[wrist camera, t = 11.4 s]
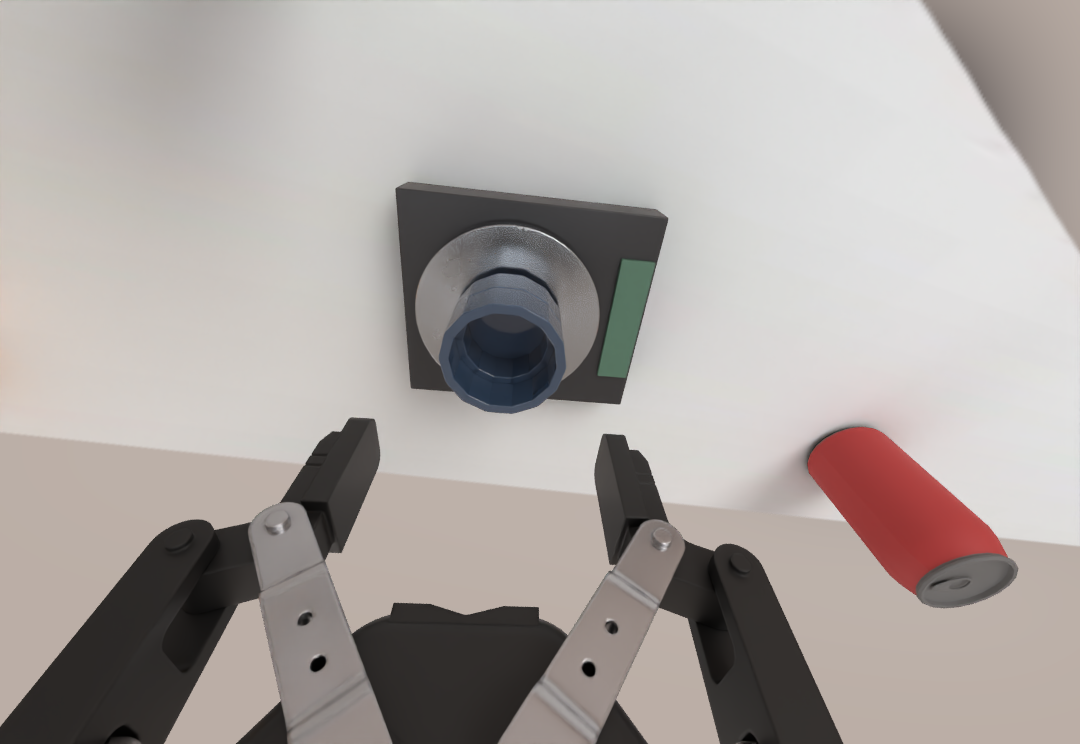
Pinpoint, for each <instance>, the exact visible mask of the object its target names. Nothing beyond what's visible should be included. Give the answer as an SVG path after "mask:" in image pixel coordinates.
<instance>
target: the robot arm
mask: <svg viewBox="0 0 1080 744" xmlns="http://www.w3.org/2000/svg"><path fill="white" fill-rule="evenodd" d="M379 461H380V447H379V441H378V434H377V428H376V422H375V420H374V419H368V418H350V419H349V420H348V421H347V423H346V425H345V426H344V428H343V430H342V431H341V432H334V431H333V432H331V433H330V434H329V435H327V436H326V437H325V438H323V439H322V440H321V441H320V442H319V443H318V445H317V446H316V448H315V449H314V451H313V452H312V456H310V457H309V459H308V460H307V462H306V465H305V466H303V468H302V469H301V471H300V473H299V474H298V476H297V477H296V479H295V480H294V482H293V483H292V485H291V486H290V488H289V490H288V491H287V493H286V494H285V496H284V497H283V499H282V500H281V502H280V503H278V504H276V505H272V506H270V507H268V508H266V509H265V510H263V511H262V512H260V513H259V514H258V515H257V516H256V517H255V518H254V519H253V520H252V522H250V523H246V524H242V525H237V526H232V527H228V528H223V529H219V530H214V528H213V527H212V525H211V524H210V523H209V522H207V521H204V520H188V521H184V522H181V523H178V524H176V525H173V526H171V527H169V528H168V529H166V530H164V531H163V532H161V533H160V534H159V535H158V536H156V537H155V538H154V539H153V540H152V541H151V542H150V544H149V545H148V546H147V547H146V548H145V550H144V551H143V552H142V553H141V555H140V556H139V557H138V558H137V559H136V561H135V562H134V563H133V564H132V566H131V567H130V568H129V569H128V571H127V572H126V573H125V574H124V575H123V577H122V578H121V579H120V580H119V582H118V583H117V584H116V585H115V587H114V588H113V589H112V590H111V591H110V593H109V594H108V595H107V596H106V598H105V599H104V600H103V601H102V603H101V604H100V605H99V606H98V607H97V609H96V610H95V611H94V612H93V614H92V615H91V616H90V617H89V619H88V620H87V621H86V622H85V623H84V625H83V626H82V627H81V628H80V629H79V631H78V632H77V633H76V635H75V636H74V637H73V638H72V639H71V641H70V642H69V643H68V644H67V645H66V647H65V648H64V649H63V650H62V652H61V653H60V654H59V655H58V657H57V658H56V659H55V660H54V661H53V663H52V664H51V665H50V666H49V668H48V669H47V670H46V671H45V672H44V674H43V675H42V676H41V677H40V679H39V680H38V681H37V682H36V683H35V685H34V686H33V687H32V688H31V690H30V691H29V692H28V693H27V695H26V696H25V697H24V698H23V699H22V701H21V702H20V703H19V704H18V706H17V707H16V708H15V709H14V711H13V712H12V713H11V714H10V715H9V717H8V718H7V719H6V720H5V722H4V723H3V724H2V725H1V727H0V744H164V742H165V741H166V738H167V737H168V735H169V733H170V731H171V729H172V727H173V726H174V724H175V722H176V720H177V718H178V716H179V714H180V712H181V711H182V709H183V707H184V705H185V703H186V701H187V699H188V697H189V696H190V694H191V692H192V690H193V688H194V686H195V684H196V682H197V681H198V678H199V677H200V675H201V673H202V671H203V669H204V667H205V665H206V664H207V662H208V660H209V658H210V656H211V654H212V652H213V651H214V648H215V647H216V645H217V643H218V641H219V639H220V637H221V636H222V634H223V632H224V630H225V628H226V626H227V624H228V622H229V621H230V619H231V617H232V615H233V613H234V611H235V609H236V607H237V606H238V604H239V603H242V602H246V601H250V600H254V599H257V598H259V602H260V607H261V612H262V616H263V621H264V625H265V630H266V634H267V639H268V644H269V648H270V652H271V658H272V662H273V667H274V671H275V676H276V681H277V685H278V690H279V694H280V699H281V701H280V702H279V703H278V704H277V705H276V706H275V707H274V708H273V709H272V710H271V711H270V712H269V713H268V714H267V715H266V716H265V717H264V718H262V720H261V721H259V722H258V723H257V724H256V725H255V726H254V727H253V728H252V729H251V730H250V731H249V732H248V733H247V734H246V735H245V736H244V737H243V738H241V740H239V742H237V743H236V744H648V743H647V742H646V741H645V739H644V738H643V736H642V735H641V734H640V732H639V731H638V730H637V728H636V727H635V725H634V724H633V723H632V721H631V720H630V718H629V717H628V716H627V714H626V713H625V712H624V710H623V709H622V707H621V706H620V705H619V703H618V702H617V701H616V698H617V696H618V694H619V691H620V689H621V687H622V685H623V683H624V681H625V679H626V676H627V674H628V672H629V670H630V668H631V666H632V663H633V661H634V659H635V657H636V655H637V653H638V651H639V649H640V646H641V644H642V642H643V640H644V638H645V636H646V634H647V631H648V629H649V627H650V625H651V623H652V621H653V618H654V616H655V614H656V612H657V610H658V608H662V609H664V610H667V611H670V612H672V613H675V614H678V615H680V616H683V617H685V618H688V621H689V625H690V629H691V633H692V637H693V640H694V644H695V648H696V652H697V656H698V659H699V664H700V668H701V671H702V675H703V679H704V683H705V687H706V690H707V695H708V699H709V702H710V706H711V710H712V714H713V718H714V722H715V725H716V729H717V733H718V737H719V741H720V744H843V742H842V740H841V738H840V735H839V733H838V731H837V729H836V727H835V724H834V722H833V720H832V718H831V716H830V713H829V711H828V709H827V707H826V705H825V702H824V700H823V698H822V696H821V694H820V692H819V689H818V687H817V685H816V683H815V680H814V678H813V676H812V674H811V672H810V670H809V667H808V665H807V663H806V661H805V659H804V656H803V654H802V652H801V650H800V648H799V645H798V643H797V641H796V639H795V637H794V634H793V633H792V630H791V628H790V626H789V623H788V621H787V619H786V617H785V615H784V613H783V611H782V608H781V606H780V604H779V602H778V599H777V597H776V595H775V593H774V591H773V588H772V586H771V584H770V582H769V580H768V577H767V575H766V573H765V571H764V569H763V567H762V565H761V563H760V562H759V560H758V559H757V558H756V557H755V556H754V555H753V554H752V553H750V552H749V551H748V550H746V549H744V548H742V547H740V546H737V545H734V544H723V545H720V546H719V547H718V548H717V549H716V550H715V551H711V550H709V549H706V548H703V547H700V546H697V545H694V544H692V543H689V542H687V541H686V540H684V539H683V537H682V535H681V534H680V532H679V531H677V529H676V528H675V527H673V526H672V525H670V524H669V522H668V520H667V517H666V514H665V511H664V508H663V505H662V502H661V499H660V496H659V493H658V490H657V487H656V485H655V482H654V479H653V476H652V473H651V470H650V467H649V464H648V461H647V460H646V459H645V458H644V456H643V455H642V454H641V453H640V452H639V451H638V450H629V447H628V444H627V441H626V437H625V436H624V435H614V434H603V436H602V438H601V443H600V447H599V451H598V455H597V459H596V463H595V473H594V476H595V485H596V490H597V496H598V501H599V507H600V513H601V518H602V524H603V529H604V535H605V541H606V547H607V551H608V557H609V563H610V565H616V566H615V567H614V569H613V570H612V571H609V572H608V573H607V574H606V576H605V578H604V579H603V580H602V582H601V584H600V585H599V587H598V588H597V590H596V592H595V594H594V595H593V596H592V598H591V600H590V601H589V603H588V604H587V606H586V608H585V609H584V611H583V612H582V614H581V616H580V617H579V619H578V620H577V622H576V624H575V625H574V627H573V628H572V630H571V631H570V633H569V635H567V634H566V633H564V632H563V631H562V630H561V629H559V628H558V627H556V626H555V625H553V624H551V623H549V622H547V621H544V620H541V619H539V608H538V607H510V606H509V607H508V606H503V607H499V608H495V609H490V610H486V611H482V612H478V613H474V614H470V615H463V614H460V613H456V612H453V611H450V610H447V609H444V608H441V607H438V606H434V605H432V604H413V603H394V604H393V608H392V611H391V615H388V616H384V617H381V618H379V619H376V620H374V621H372V622H370V623H368V624H366V625H364V626H363V627H361V628H360V629H358V630H356V631H355V632H354V633H353V634H351V631H350V628H349V625H348V623H347V620H346V617H345V615H344V612H343V609H342V606H341V604H340V601H339V598H338V595H337V593H336V590H335V587H334V584H333V582H332V579H331V576H330V574H329V571H328V568H327V566H326V563H325V559H326V557H327V555H328V553H330V552H331V553H341V552H342V550H343V548H344V546H345V543H346V541H347V539H348V536H349V534H350V532H351V529H352V527H353V525H354V523H355V520H356V518H357V516H358V513H359V511H360V509H361V506H362V504H363V502H364V499H365V497H366V495H367V492H368V490H369V487H370V485H371V483H372V481H373V478H374V476H375V474H376V471H377V469H378V466H379Z"/></svg>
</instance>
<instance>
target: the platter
mask: <svg viewBox="0 0 1080 744" xmlns="http://www.w3.org/2000/svg"><path fill="white" fill-rule="evenodd" d="M499 273H502V274H512V275H522V276H526V277H527V278H529V279H531V280H532V281H534V282H536V283H537V284H539V285H541V286H542V287H544V288H545V289H546V290H547V291H548V292H549V294H550V295H551V297H552V298H553V300H554V301H555V303H556V304H557V306H558V308H559V311H560V318H561V325H562V332H563V339H564V347H565V357H566V371H565V373H564V375H563V378H562V380H563V379H565V378H566V377H567V376H569V375H570V374H571V373H572V372H573V371H574V370H575V369H576V368H578V367H579V365H580V364H581V363H582V362H583V360H584V359H585V358H586V356H587V355H588V353H589V351H590V350H591V348H592V345H593V343H594V341H595V338H596V335H597V331H598V327H599V319H600V306H599V299H598V294H597V291H596V287H595V284H594V282H593V279H592V277H591V275H590V273H589V271H588V269H587V267H586V266H585V264H584V263H583V261H582V259H581V258H580V257H579V256H578V255H577V254H576V253H575V251H574V250H573V249H572V248H570V247H569V246H568V245H567V244H566V243H565V242H564V241H562V240H561V239H559V238H557V237H556V236H554V235H553V234H551V233H549V232H547V231H544V230H542V229H540V228H537V227H534V226H531V225H527V224H521V223H515V222H497V223H488V224H484V225H480V226H476V227H473V228H471V229H468V230H466V231H463V232H462V233H460V234H458V235H457V236H455V237H453V238H452V239H451V240H449V241H448V242H447V243H446V244H444V245H443V246H442V247H441V248H440V249H439V250H438V251H437V253H436V254H435V255H434V256H433V258H432V259H431V260H430V262H429V263H428V265H427V266H426V268H425V270H424V272H423V274H422V276H421V278H420V281H419V285H418V288H417V293H416V299H415V314H416V321H417V326H418V329H419V333H420V335H421V338H422V340H423V342H424V345H425V346H426V348H427V350H428V351H429V353H430V354H431V356H432V357H433V358H434V360H435V361H436V362H437V363H438V364H439V365H440V362H439V359H438V358H439V357H438V356H439V352H440V348H441V343H442V339H443V335H444V332H445V330H446V327H447V325H448V323H449V320H450V318H451V316H452V313H453V311H454V309H455V306H456V304H457V301H458V300H459V298H460V297H461V296H462V295H463V294H464V293H465V291H466V290H467V289H468V288H469V287H470V286H471V285H472V284H473V283H474V282H475V281H478V280H481V279H483V278H486V277H489V276H492V275H494V274H499ZM562 380H561V381H562Z"/></svg>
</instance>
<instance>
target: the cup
mask: <svg viewBox="0 0 1080 744" xmlns="http://www.w3.org/2000/svg"><path fill="white" fill-rule="evenodd" d="M438 357H439V358H438V359H439V362H440V366H441V369H442V373H443V376H444V380H445V382H446V383H447V384H448V386H449V387H450V388H451V389H452V390H453V391H454V392H455V393H456V394H457V395H458V396H459V398H460V399H461V400H463V401H464V402H466V403H468V404H471V405H473V406H475V407H477V408H479V409H481V410H484V411H487V412H495V413H509V414H512V413H517V412H521V411H524V410H527V409H531V408H534V407H537V406H539V405H540V404H541V403H542V402H544V401H545V400H546V399H547V398H548V397H550V396H551V395H552V394H553V393H554V392H556V390H557V389H558V387H559V384H560V382H561V380H562V378H563V375H564V373H565V371H566V357H565V347H564V339H563V332H562V325H561V318H560V311H559V308H558V306H557V304H556V303H555V301H554V300H553V298H552V297H551V295H550V294H549V292H548V291H547V290H546V289H545V288H544V287H542V286H541V285H539V284H537V283H536V282H534V281H532V280H531V279H529V278H527V277H526V276H522V275H512V274H502V273H499V274H494V275H492V276H489V277H486V278H483V279H481V280H478V281H475V282H474V283H473V284H472V285H471V286H470V287H469V288H468V289H467V290H466V291H465V293H464V294H463V295H462V296H461V297H460V298H459V300H458V301H457V304H456V306H455V309H454V311H453V313H452V316H451V318H450V320H449V323H448V325H447V327H446V330H445V332H444V335H443V339H442V343H441V348H440V352H439V356H438Z"/></svg>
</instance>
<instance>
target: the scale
mask: <svg viewBox="0 0 1080 744" xmlns="http://www.w3.org/2000/svg"><path fill="white" fill-rule="evenodd" d="M396 202H397V215H398V228H399V241H400V253H401V266H402V279H403V292H404V305H405V318H406V331H407V344H408V357H409V369H410V382H411V388H413V389H426V390H439V391H452V392H454V391H453V390H452V389H451V388H450V387H449V386H448V384H447V383H446V382H445V380H444V376H443V373H442V369H441V366H440V365H439V364H438V363H437V362H436V361H435V360H434V358H433V357H432V356H431V354H430V353H429V351H428V350H427V348H426V346H425V345H424V342H423V340H422V338H421V335H420V333H419V329H418V326H417V321H416V314H415V299H416V293H417V288H418V285H419V281H420V278H421V276H422V274H423V272H424V270H425V268H426V266H427V265H428V263H429V262H430V260H431V259H432V258H433V256H434V255H435V254H436V253H437V251H438V250H439V249H440V248H441V247H442V246H443V245H444V244H446V243H447V242H448V241H449V240H451V239H452V238H453V237H455V236H457V235H458V234H460V233H462V232H463V231H466V230H468V229H471V228H473V227H476V226H480V225H484V224H488V223H497V222H515V223H521V224H527V225H531V226H534V227H537V228H540V229H542V230H544V231H547V232H549V233H551V234H553V235H554V236H556V237H557V238H559V239H561V240H562V241H564V242H565V243H566V244H567V245H568V246H569V247H570V248H572V249H573V250H574V251H575V253H576V254H577V255H578V256H579V257H580V258H581V259H582V261H583V263H584V264H585V266H586V267H587V269H588V271H589V273H590V275H591V277H592V279H593V282H594V284H595V287H596V291H597V294H598V299H599V306H600V319H599V327H598V331H597V335H596V338H595V341H594V343H593V345H592V348H591V350H590V351H589V353H588V355H587V356H586V358H585V359H584V360H583V362H582V363H581V364H580V365H579V367H578V368H576V369H575V370H574V371H573V372H572V373H571V374H570V375H569V376H567V377H566V378H565V379H563V380H562V381H561V382H560V384H559V387H558V389H557V390H556V392H554V393H553V394H552V395H551V396H550V397H548V398H547V399H556V400H569V401H582V402H595V403H608V404H620V403H621V399H622V395H623V391H624V388H625V384H626V380H627V376H628V372H629V368H630V365H631V361H632V357H633V353H634V349H635V345H636V342H637V338H638V334H639V330H640V326H641V322H642V318H643V315H644V311H645V307H646V303H647V299H648V295H649V292H650V288H651V284H652V280H653V276H654V272H655V269H656V265H657V261H658V257H659V253H660V249H661V245H662V242H663V238H664V234H665V230H666V226H667V222H668V217H666V216H665V215H663V214H662V213H661V212H659V211H658V210H656V209H647V208H638V207H629V206H620V205H611V204H602V203H593V202H584V201H575V200H566V199H557V198H548V197H539V196H530V195H521V194H512V193H503V192H494V191H485V190H476V189H467V188H458V187H449V186H440V185H431V184H422V183H413V182H407V183H405V184H403V185H401V186H399V187H397V188H396Z"/></svg>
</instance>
